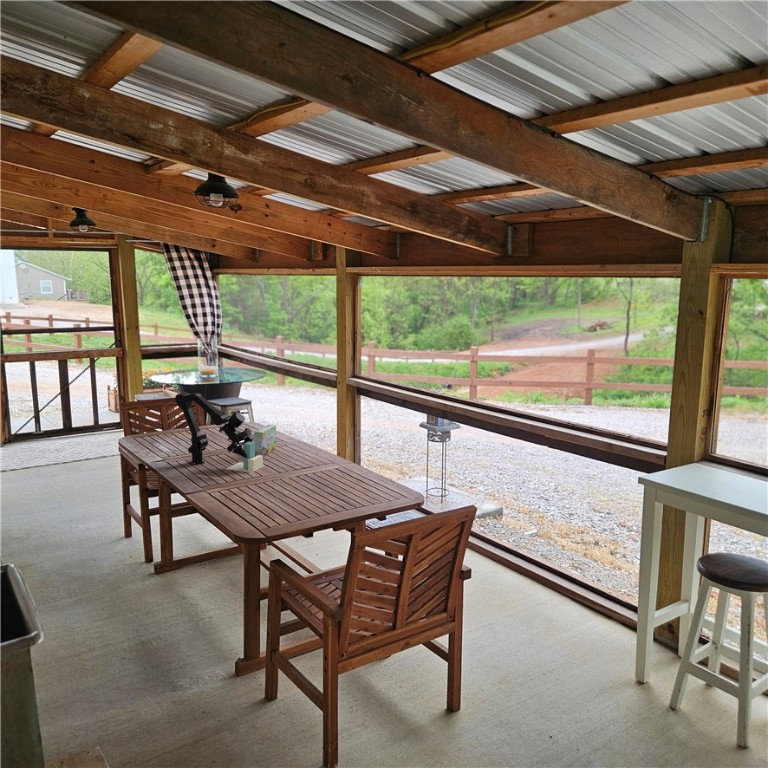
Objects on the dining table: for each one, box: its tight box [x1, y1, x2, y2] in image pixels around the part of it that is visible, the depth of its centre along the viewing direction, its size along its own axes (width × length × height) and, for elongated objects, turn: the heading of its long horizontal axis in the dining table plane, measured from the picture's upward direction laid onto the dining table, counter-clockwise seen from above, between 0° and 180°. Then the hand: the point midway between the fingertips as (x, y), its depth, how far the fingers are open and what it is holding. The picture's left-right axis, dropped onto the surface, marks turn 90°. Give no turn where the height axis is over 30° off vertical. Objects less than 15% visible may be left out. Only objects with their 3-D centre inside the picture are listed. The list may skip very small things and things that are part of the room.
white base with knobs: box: [225, 455, 265, 474], centre depth 334 cm, size 15×14×7 cm
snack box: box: [253, 424, 277, 458], centre depth 366 cm, size 21×6×15 cm, turn 168°
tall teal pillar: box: [242, 441, 255, 469], centre depth 333 cm, size 4×5×13 cm
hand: (250, 455), depth 333 cm, fingers open, 7 cm apart
